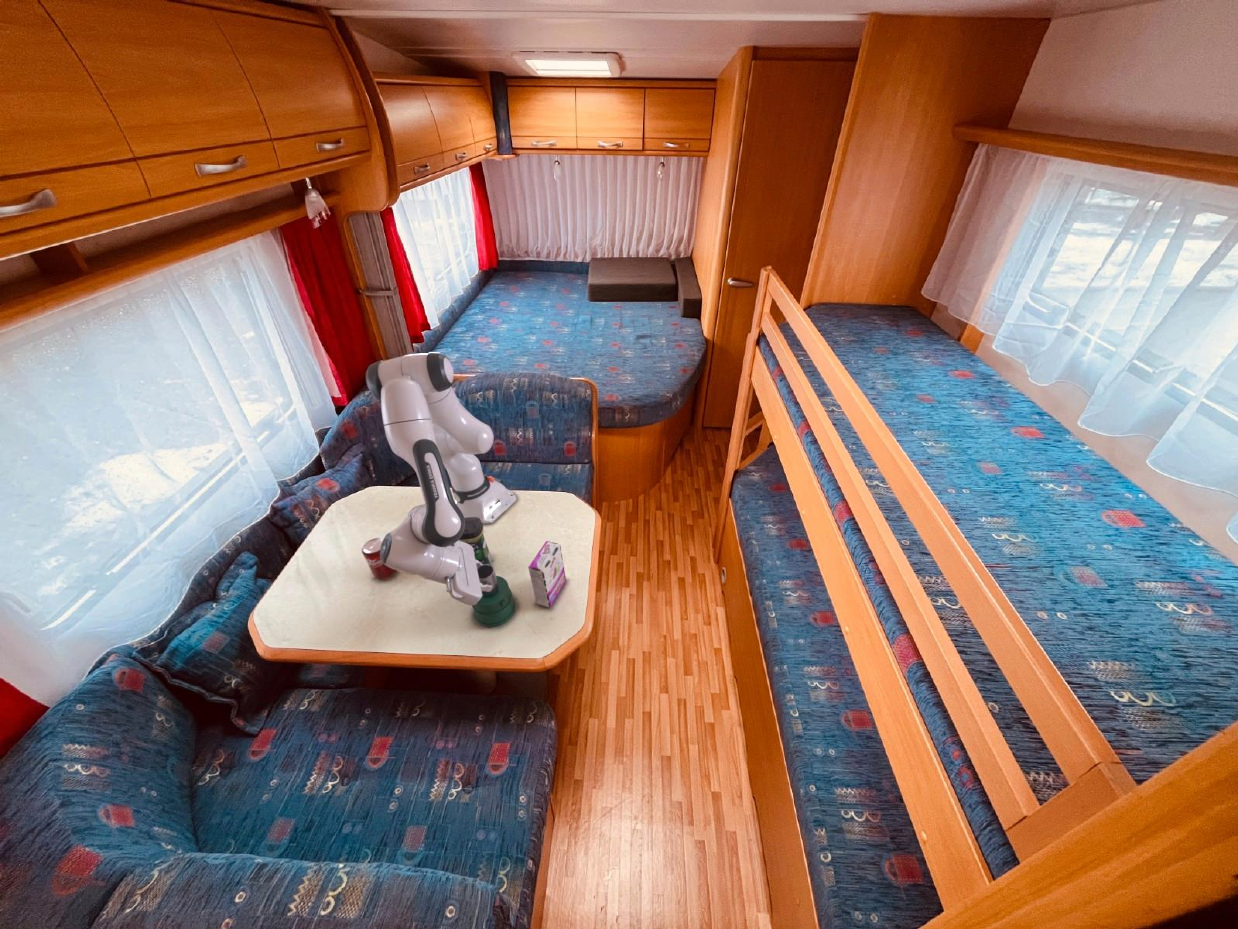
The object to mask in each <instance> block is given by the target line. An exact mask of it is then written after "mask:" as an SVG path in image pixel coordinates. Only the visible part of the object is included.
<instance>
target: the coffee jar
mask: <svg viewBox="0 0 1238 929" xmlns="http://www.w3.org/2000/svg"><path fill="white" fill-rule="evenodd" d="M484 532H485V530H484V523H482V522H481V520H480V518H478V517H467V518H465V529H464V532H463V534H462V536H461V538H460V539H459V541H462V542H465V543H467V544H469V545H471V546H472V547H473V550H474V555H475V560H478V561H479V562H480V563H482V564H483V565H485V564H489V565H491V563H492V554H491V552H490V549H489V547H488V544H487V542H486V539H485V535H484Z"/></svg>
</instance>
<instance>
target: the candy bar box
mask: <svg viewBox="0 0 1238 929" xmlns="http://www.w3.org/2000/svg"><path fill="white" fill-rule="evenodd" d="M527 568H528V572H529V576H530V581H531V584H532V590H533V593H534V598H535V602H536V605H539V606H541V607H542V606H543V607H546V608H549V609H551V608H552V606H553V604H554V603H555V601H556V599H557V598H558V596H559V594H560V592H561V591H562V589H563V587H564V585H565V584H566V582H567V576H566V571H565V566H564V559H563V554H562V547H561V543H558V542H553V541H550V540H545V542H544V543H543V545H542V547H541V548H540V550H538V552H537V554H536V555H535V557H534V558H533V560H532V561H531V563H530V564H529V566H528V567H527Z"/></svg>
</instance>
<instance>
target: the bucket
mask: <svg viewBox="0 0 1238 929" xmlns="http://www.w3.org/2000/svg"><path fill="white" fill-rule="evenodd" d="M496 577H497V581H498V585H499V590H498V592H497V593H496V594H495V595H493V596H491V597H483V596H482V598H481V599H480V600H479V601H478V602H477V604H475V605H473V606H472V605H471V607H472V610H473V617H474V619H475V621H476V623H477V624H479V625H480V626H482V627H484V628H496V627H500V626H502V625H504V624H506V623H507V622H508V621H510V620H511V619H512V617H513V616H514V615H515V612H516V608H517V604H516V601H515V598H514V596H513V592H512V590H511V589H510V586H509V582H508V581H507V580H506V579H505V578H504V577H502V576H500V575H496Z"/></svg>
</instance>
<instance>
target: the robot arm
mask: <svg viewBox="0 0 1238 929" xmlns="http://www.w3.org/2000/svg"><path fill="white" fill-rule="evenodd" d="M365 382H366V385H367V388H368V390H369V392H370V394H371V395H372V396H373V397H374V398H376V399H377V400H378V401H380V410H381V418H382V423H383V428H384V433H385V437H386V440H387V443H388V445H389V447H390V449H391V452H393V453H394V454H395V455H396V456H398V457H399V458H401V459H402V460H404V461H405V462H407V463H408V464H409V465H410V466H411V467H412V469H413V470H414V472H415V473H416V476H417V479H418V484H419V486H420V491H421V494H422V497H423V501H424V504H419V505H416V506H414V507H413V508H412V509H411V510H410V511H409V512H408V514H407V516H406V517H405V519H404V520H403V521H402V522H401V523H400V524H399V525H398V526H397V527H396V528H394V529H393V530H391V531H390V532H388V533H386V534H385V536H384V538H382V539H383V541H382V544H381V548H380V558H381V560H382V562H383V563H384V564H385V565H386V566H388V567H390V568H392V569H394V570H397V571H396V572H400V573H403V574H406V575H411V576H419V577H422V578H423V579H425V580H427V581H431V582H436V583H439V584H443V585H446V586H445V591H446V593H448V594H449V596H450V597H451V598H452V599H453V600H456V601H458V602H460V603H463V604H465V605H468V606H471V607H472V606H473V605H475V604H477V602H478V601H479V600H480V599H481V598H482V591H487V592H490V591H491V590H492V584H489V583H486V584H485V585H482V583H480V581H479V576H478V571H477V568H478V567H479V566H481V565H483V564H482V563H480V562H479V561H478V560H475V555H474V550H473V547H472V546H471V545H469V544H467V543H465V542H462V541H459V539H460V538H461V536H462V534H463V532H464V529H465V518H467V517H478V518H480V520H481V522H482V524H493V523H494V522H495V521H497V519H499V518H500V516H502V514H504V512H506V511H508V509H509V508H510V507H511V506H513V505H514V504H515V502H516V501H517V497H516V495H515V493H513V491H511V490H509V489H508V488H506V486H505V485H504V483H503V482H504V481H503V479H501V478H496V477H493V476H492V475H490V476H488V474H486V473H485V472H483V468H482V464H481V462H480V459H479V458H478V457H477V456H476V455H480V454H486V453H488V452H489V451H490V450H491V448H492V447H493V444H494V441H495V440H494V439H495V437H494V436H495V435H494V432H493V430H492V428H491V426H490V425H489V424H486V423H484V422H482V421H481V420H480V419H478V418H476V417H475V416H474V415H473V414H472V413H471V412H470V411H468V410H467V409H466V407H465V406H464V405H463V404H462V403H461V401H460V400H459V398H458V396H457V394H456V393H455V391H454V388H453V387H452V385H453V384H454V382H455V372H454V367H453V364H452V362H451V360H450V359H449V357H448V356H446V355H445V354H444V353H442V352H439V351H438V352H437V351H428V353H411V354H405V355H402V356H397V357H393V358H391V359H385V360H379V361H376V362H374V363H371V364H370V365H369V366H368V367H367V370H366V372H365ZM446 471H447V472H446ZM448 477H449V479H448ZM449 480H450V483H451V484H450V483H449ZM450 486H451V487H450Z"/></svg>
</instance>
